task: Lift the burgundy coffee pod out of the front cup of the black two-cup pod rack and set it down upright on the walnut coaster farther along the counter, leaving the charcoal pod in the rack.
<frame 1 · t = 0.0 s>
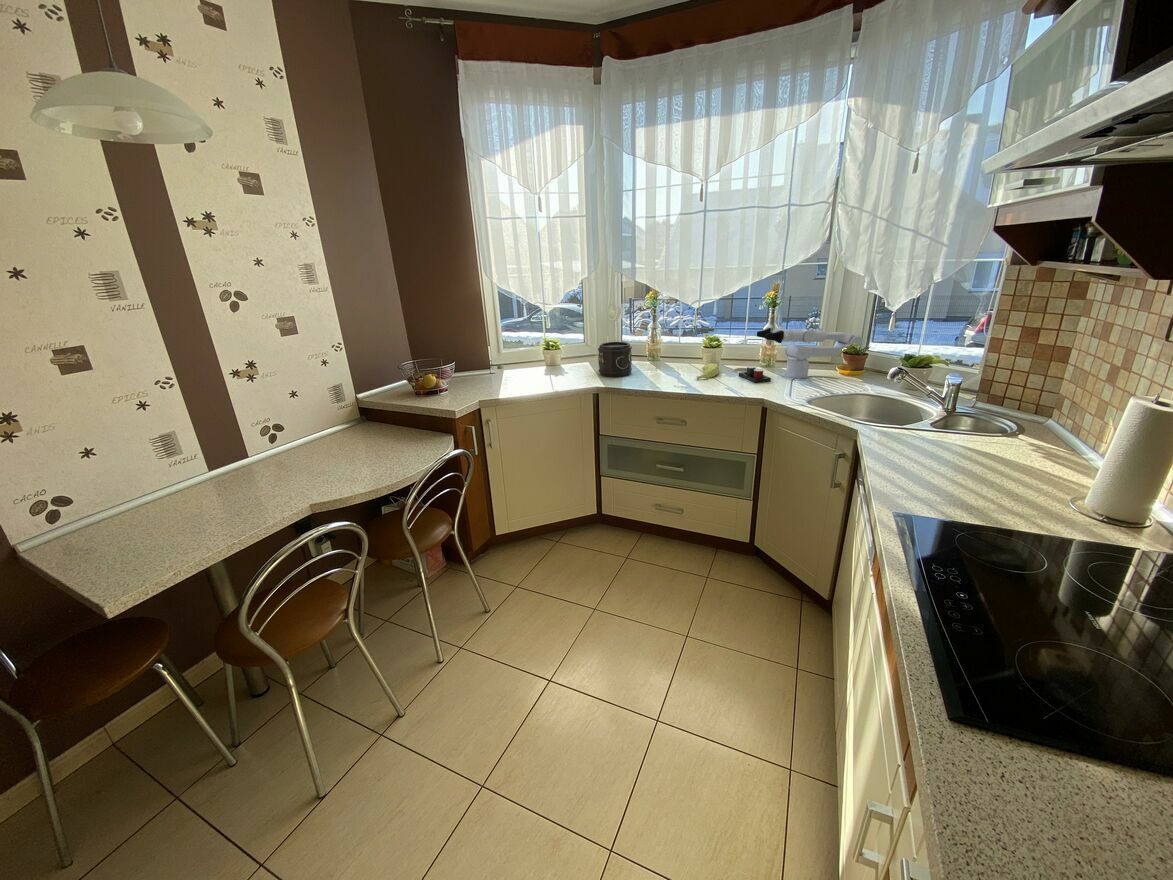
hand: (761, 335, 219), 22 cm above the worktop, tool horizontal, fingers open, 7 cm apart
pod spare: (750, 377, 232), point 1 cm above the worktop, touching rack
dark cylindrical canister: (615, 373, 254), on the worktop
rack: (754, 380, 229), on the worktop
coaster: (743, 370, 247), on the worktop
pod: (757, 380, 226), point 1 cm above the worktop, touching rack
pale green gourd: (705, 376, 242), on the worktop
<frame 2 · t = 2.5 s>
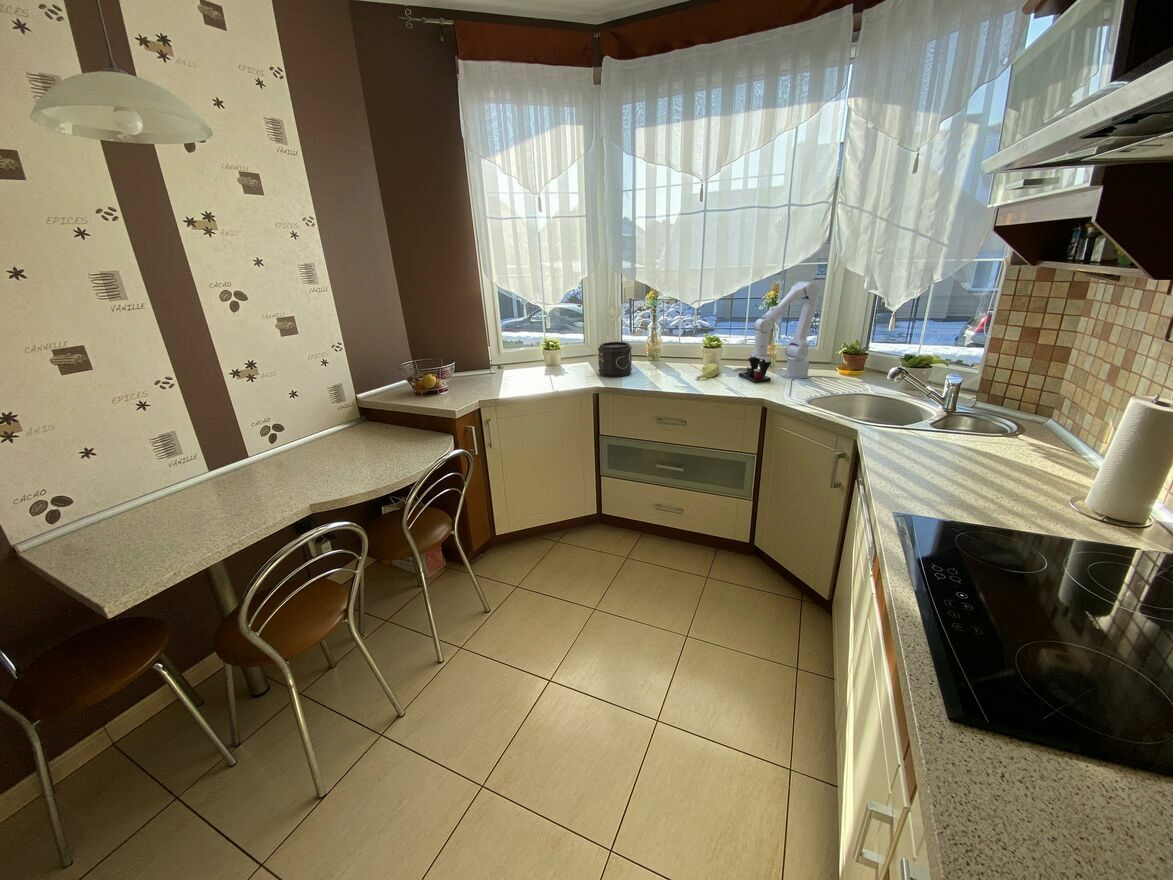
hand: (758, 374, 225), 4 cm above the worktop, tool pointing down, fingers open, 7 cm apart
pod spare: (750, 377, 232), point 1 cm above the worktop, touching gripper, rack
everything else where it was.
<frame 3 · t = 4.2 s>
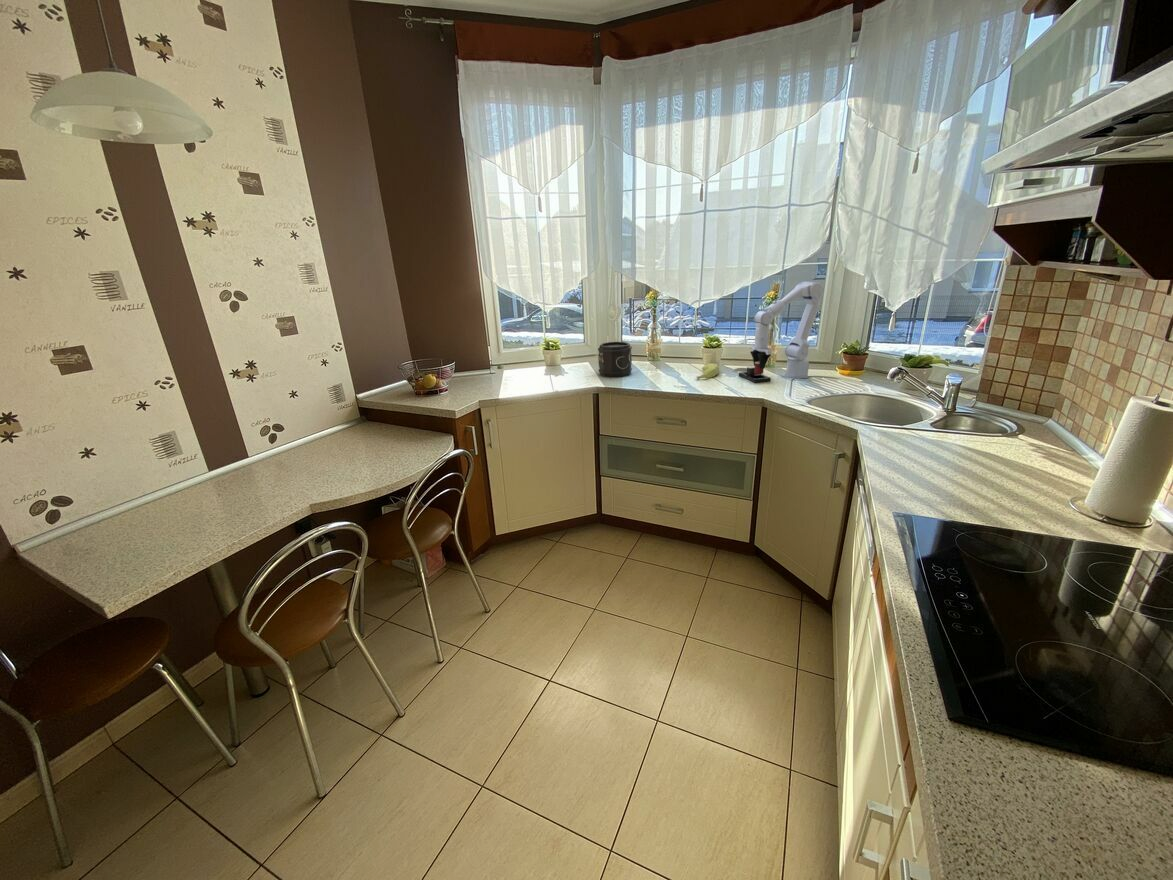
hand: (759, 367, 224), 7 cm above the worktop, tool pointing down, fingers closed on pod, 4 cm apart
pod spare: (750, 377, 232), point 1 cm above the worktop, touching rack
pod: (758, 373, 225), point 4 cm above the worktop, touching gripper
everything else where it was.
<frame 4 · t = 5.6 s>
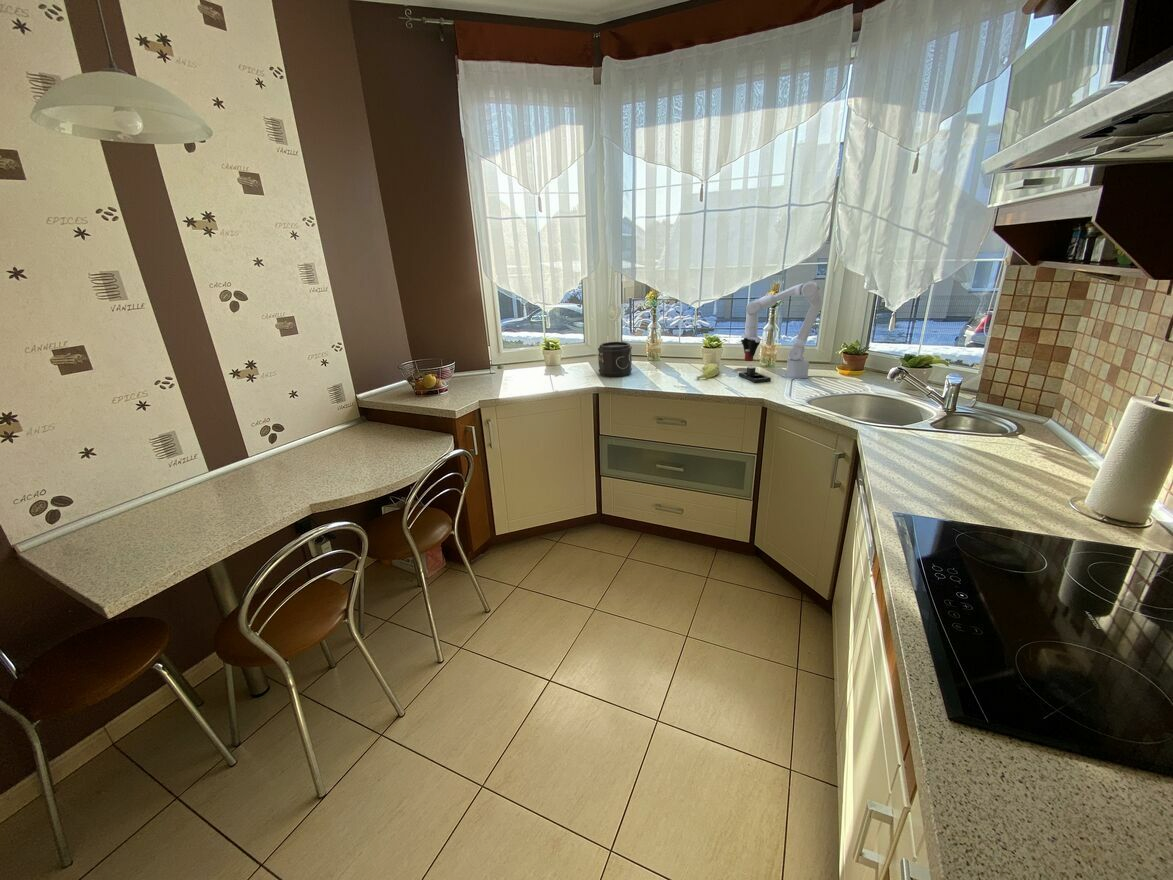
hand: (749, 354, 236), 10 cm above the worktop, tool pointing down, fingers closed on pod, 4 cm apart
pod: (748, 360, 237), point 7 cm above the worktop, touching gripper
everything else where it was.
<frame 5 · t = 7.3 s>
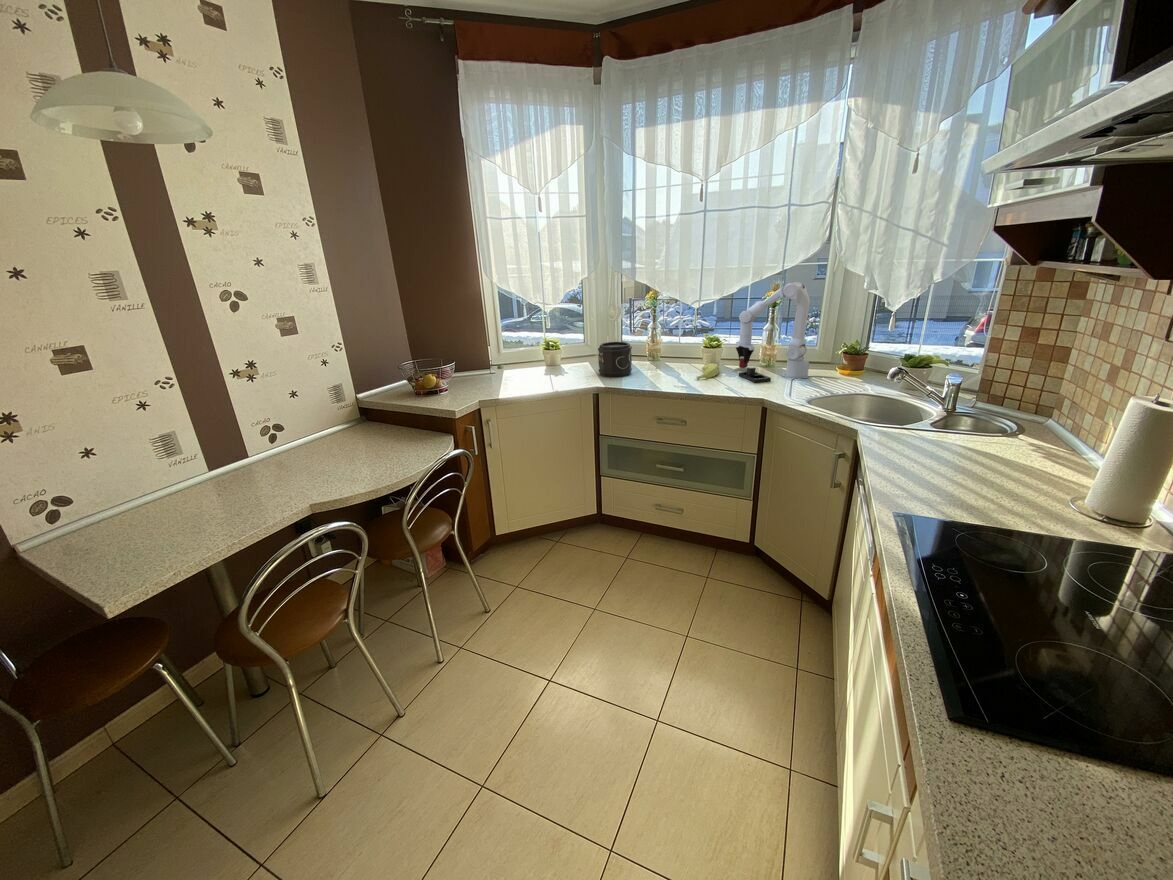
hand: (743, 361, 245), 5 cm above the worktop, tool pointing down, fingers closed on pod, 4 cm apart
pod: (743, 367, 246), point 2 cm above the worktop, touching gripper
everything else where it was.
when the fingers open (3 cm above the worktop, at t = 8.2 s): pod stays where it is, resting on coaster.
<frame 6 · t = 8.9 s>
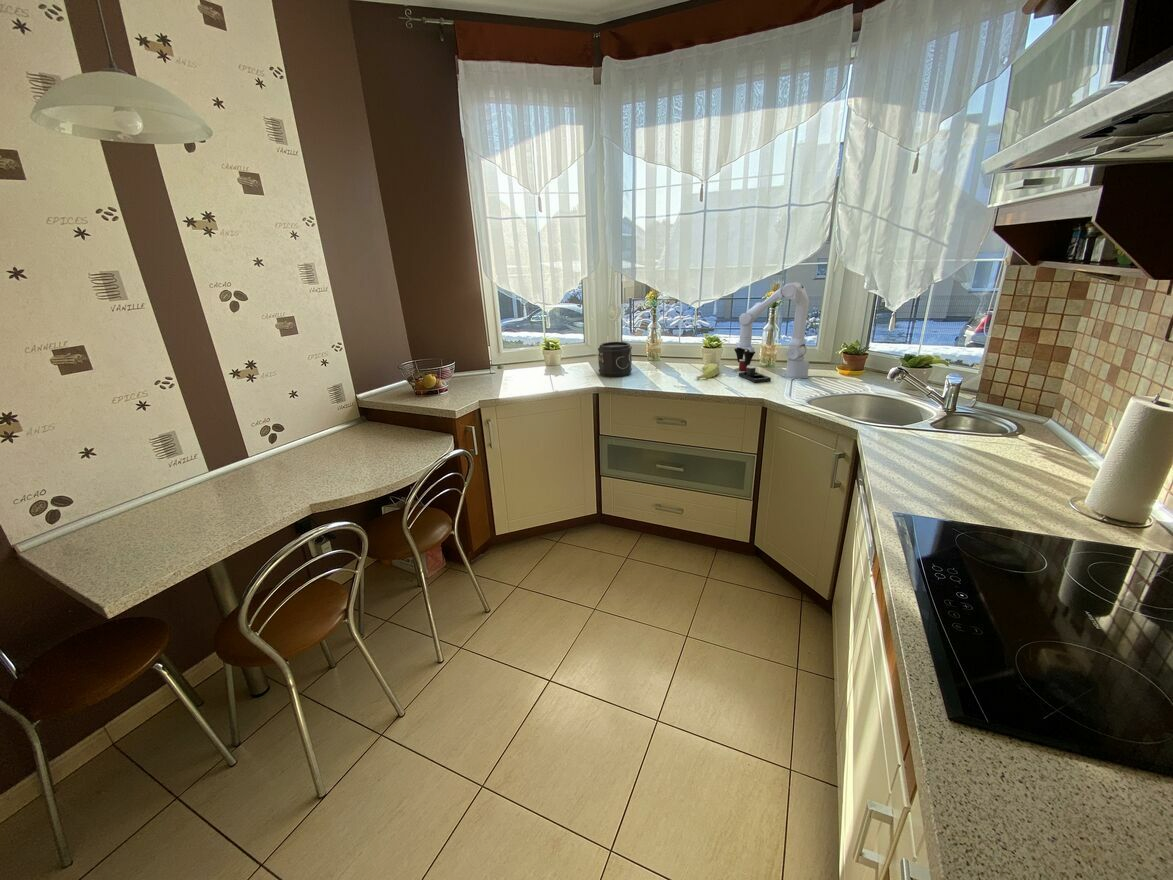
hand: (743, 363, 246), 4 cm above the worktop, tool pointing down, fingers open, 7 cm apart
pod: (743, 369, 247), point 1 cm above the worktop, touching coaster
everything else where it was.
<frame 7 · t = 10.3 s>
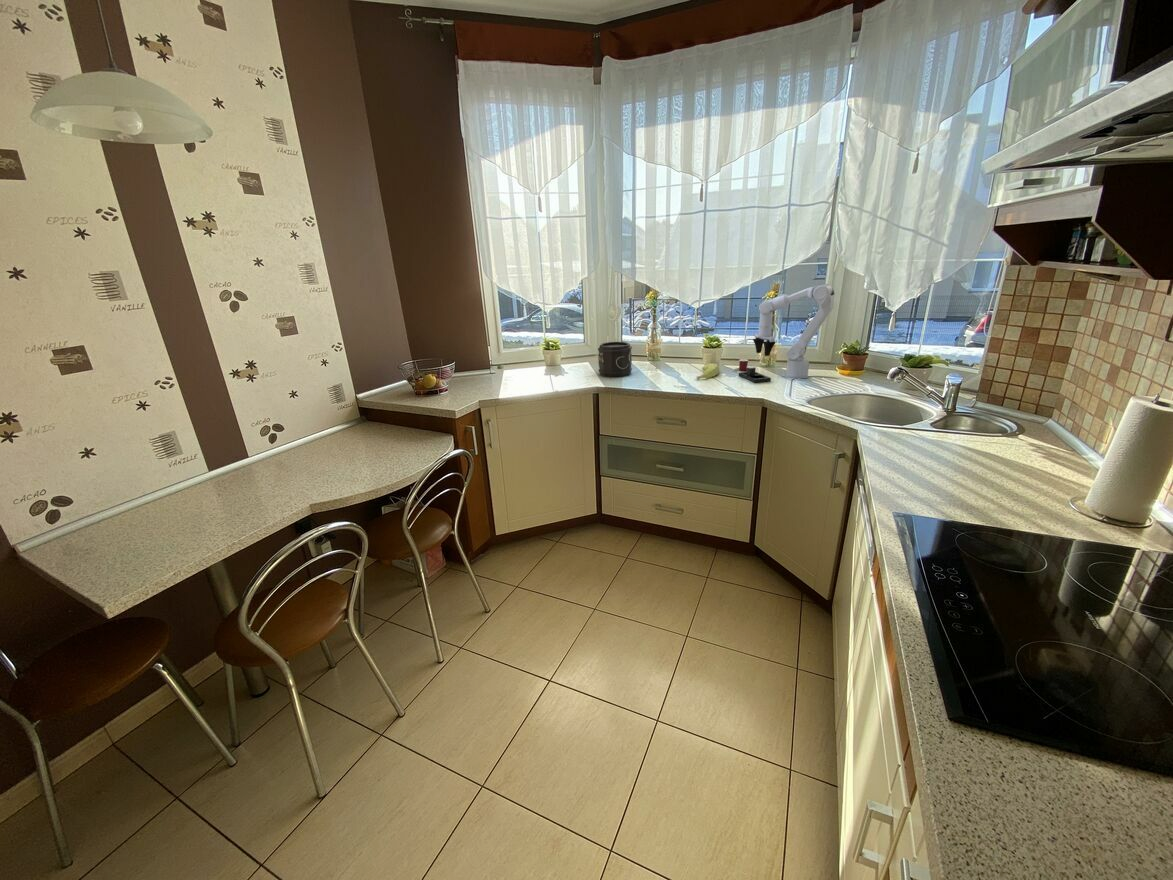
hand: (762, 354, 236), 10 cm above the worktop, tool pointing down, fingers open, 7 cm apart
nothing on the worktop moved.
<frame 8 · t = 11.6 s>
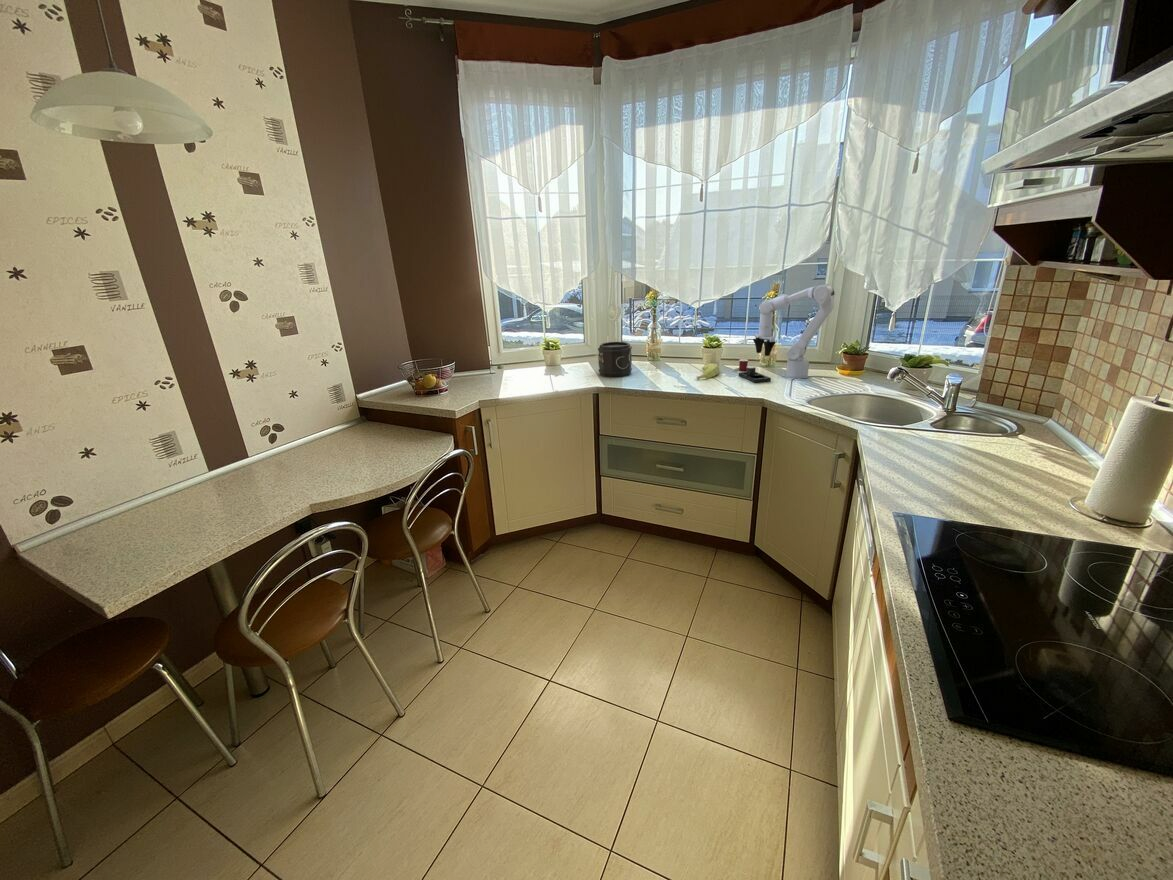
hand: (763, 354, 236), 10 cm above the worktop, tool pointing down, fingers open, 7 cm apart
nothing on the worktop moved.
at the end: pod 0.1 cm off-centre on the coaster, point 0.6 cm above the coaster's base; pod tilted 0°; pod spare moved 0.0 cm from its start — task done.
